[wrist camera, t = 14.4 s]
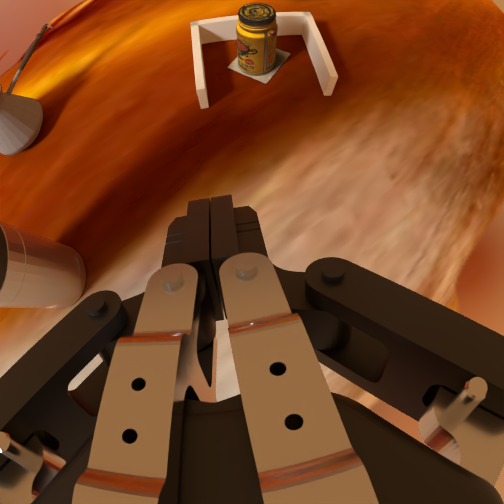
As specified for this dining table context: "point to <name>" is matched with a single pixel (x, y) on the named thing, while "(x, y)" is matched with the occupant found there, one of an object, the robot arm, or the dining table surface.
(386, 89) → the dining table surface
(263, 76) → the condiment
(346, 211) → the dining table surface
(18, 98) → the coffee pot
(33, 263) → the robot arm
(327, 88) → the caddy
